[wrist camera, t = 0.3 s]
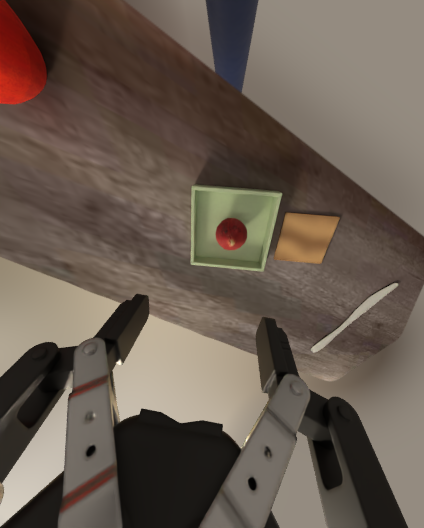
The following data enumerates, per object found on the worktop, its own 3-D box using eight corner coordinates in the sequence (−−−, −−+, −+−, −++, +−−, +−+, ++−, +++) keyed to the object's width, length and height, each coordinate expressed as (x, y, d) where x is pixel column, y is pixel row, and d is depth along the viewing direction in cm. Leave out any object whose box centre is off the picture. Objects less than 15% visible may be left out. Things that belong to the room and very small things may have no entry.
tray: (194, 184, 33) (191, 186, 30) (277, 190, 32) (282, 193, 29) (193, 257, 40) (190, 264, 37) (260, 264, 40) (263, 271, 37)
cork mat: (285, 212, 34) (286, 212, 34) (339, 216, 34) (340, 217, 33) (273, 258, 39) (273, 259, 38) (320, 263, 38) (321, 263, 38)
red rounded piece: (211, 222, 36) (207, 235, 29) (237, 208, 34) (240, 219, 27) (224, 246, 38) (223, 264, 31) (250, 234, 36) (255, 250, 29)
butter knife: (307, 350, 51) (316, 354, 51) (391, 280, 39) (402, 285, 39) (306, 348, 51) (315, 352, 52) (389, 278, 39) (400, 284, 39)
